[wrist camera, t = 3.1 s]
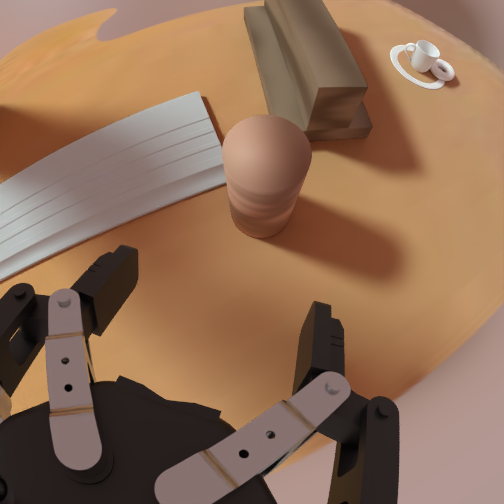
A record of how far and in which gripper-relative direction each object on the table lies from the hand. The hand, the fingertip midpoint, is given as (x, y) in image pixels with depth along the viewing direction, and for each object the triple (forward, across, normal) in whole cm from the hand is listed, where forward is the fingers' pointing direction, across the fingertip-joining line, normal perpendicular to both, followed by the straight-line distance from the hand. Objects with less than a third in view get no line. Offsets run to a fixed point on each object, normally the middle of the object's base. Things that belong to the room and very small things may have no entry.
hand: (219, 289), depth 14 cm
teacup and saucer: (+31, -16, -13) cm, 37 cm away
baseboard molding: (+12, +18, +6) cm, 22 cm away
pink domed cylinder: (+14, 0, +3) cm, 14 cm away
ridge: (+26, 0, -10) cm, 28 cm away
